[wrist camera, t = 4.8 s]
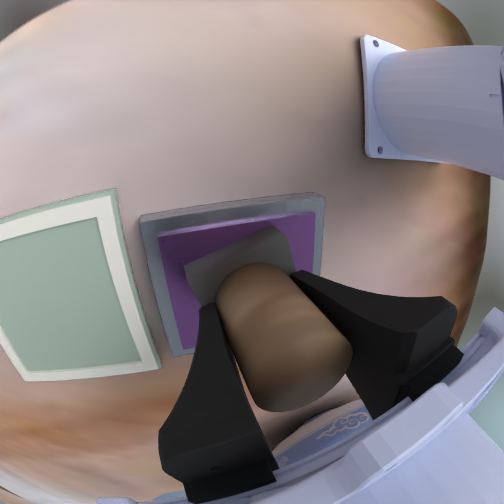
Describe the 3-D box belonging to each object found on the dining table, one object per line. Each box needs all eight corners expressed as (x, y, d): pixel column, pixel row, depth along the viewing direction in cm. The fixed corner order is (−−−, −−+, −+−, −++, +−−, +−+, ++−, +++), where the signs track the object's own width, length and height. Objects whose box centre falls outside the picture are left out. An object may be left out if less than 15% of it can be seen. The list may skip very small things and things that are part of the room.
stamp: (272, 224, 13) (360, 295, 7) (294, 295, 15) (363, 376, 9) (183, 265, 12) (213, 373, 7) (220, 332, 14) (262, 432, 9)
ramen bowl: (419, 365, 31) (454, 399, 24) (322, 459, 35) (343, 493, 28) (305, 338, 19) (369, 421, 12) (184, 470, 23) (201, 527, 16)
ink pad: (312, 192, 15) (327, 198, 13) (306, 311, 18) (317, 324, 17) (140, 215, 12) (139, 224, 11) (171, 343, 15) (174, 360, 14)
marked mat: (115, 188, 11) (113, 190, 11) (161, 362, 16) (162, 370, 15) (-41, 234, 8) (-47, 238, 8) (26, 376, 13) (24, 383, 12)
